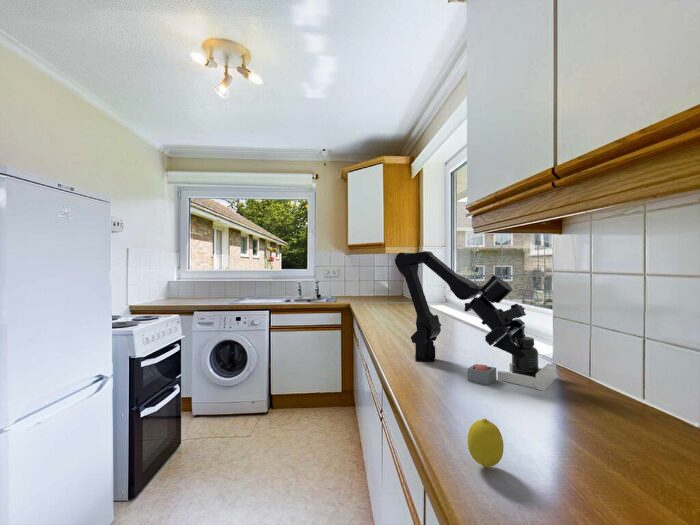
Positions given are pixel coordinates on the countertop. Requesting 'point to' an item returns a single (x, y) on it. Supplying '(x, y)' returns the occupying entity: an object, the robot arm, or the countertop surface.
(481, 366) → the plunger
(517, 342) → the supplement bottle
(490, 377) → the plunger block
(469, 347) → the countertop surface
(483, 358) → the countertop surface
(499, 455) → the lemon
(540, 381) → the white u-shaped frame
